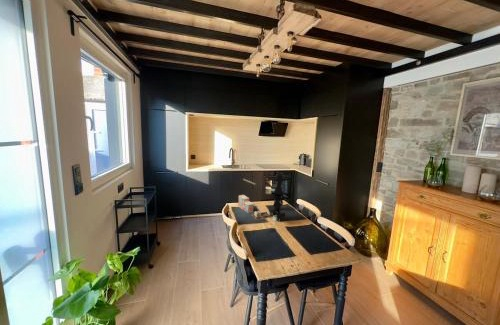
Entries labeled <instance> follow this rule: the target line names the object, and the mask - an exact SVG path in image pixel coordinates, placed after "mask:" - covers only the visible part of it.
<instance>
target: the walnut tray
mask: <svg viewBox="0 0 500 325" xmlns="http://www.w3.org/2000/svg"><path fill="white" fill-rule="evenodd" d="M251 217H253V218H254V219H255V220H256V221H257V220H262V219H263V220H265V219H268V218H273V214H271V215H269V214H268V213H267V211H263V212H262V211H261V216H259V217H256V216H255V215H254V213H251Z"/></svg>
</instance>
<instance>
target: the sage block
mask: <svg viewBox="0 0 500 325" xmlns="http://www.w3.org/2000/svg"><path fill="white" fill-rule="evenodd" d="M272 220H273V221H275V222H280V221H281V218H280V219H279V221H277V215H274V216H273V217H272Z"/></svg>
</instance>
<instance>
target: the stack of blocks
mask: <svg viewBox="0 0 500 325" xmlns="http://www.w3.org/2000/svg"><path fill="white" fill-rule="evenodd" d="M254 206H255V204H254V203H253V202H251V201H250V197H248V196H246V195H245V194H239V195H238V208H240V209H241V210H243V211H244V212H246V213H247V214H249V213H250V214H251V213H254Z"/></svg>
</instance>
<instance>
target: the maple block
mask: <svg viewBox="0 0 500 325" xmlns="http://www.w3.org/2000/svg"><path fill="white" fill-rule="evenodd" d="M261 213H262V211H260V210H257V211H256V210H255V211H253V214H254V215H255V216H256V217H259V216H261Z"/></svg>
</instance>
